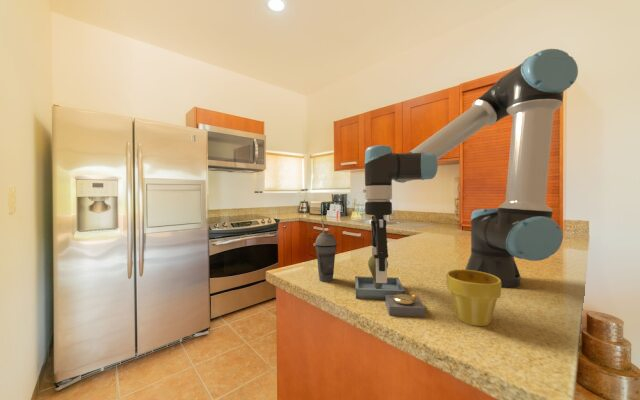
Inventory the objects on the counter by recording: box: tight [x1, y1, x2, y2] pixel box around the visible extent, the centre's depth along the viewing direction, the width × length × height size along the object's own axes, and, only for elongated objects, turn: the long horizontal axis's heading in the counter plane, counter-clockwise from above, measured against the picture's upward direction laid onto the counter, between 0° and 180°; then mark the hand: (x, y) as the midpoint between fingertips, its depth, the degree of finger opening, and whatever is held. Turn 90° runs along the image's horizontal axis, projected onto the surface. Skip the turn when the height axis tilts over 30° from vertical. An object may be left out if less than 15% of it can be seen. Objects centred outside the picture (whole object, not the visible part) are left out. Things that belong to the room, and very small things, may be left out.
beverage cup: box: [314, 218, 338, 283], centre depth 84 cm, size 7×7×20 cm
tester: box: [384, 294, 426, 318], centre depth 62 cm, size 8×7×3 cm
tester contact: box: [393, 293, 415, 305], centre depth 62 cm, size 5×5×1 cm
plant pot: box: [446, 269, 502, 327], centre depth 57 cm, size 10×10×10 cm
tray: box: [354, 275, 407, 301], centre depth 74 cm, size 13×11×2 cm
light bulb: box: [367, 254, 389, 289], centre depth 74 cm, size 6×6×10 cm
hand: (378, 274), depth 74 cm, fingers open, 13 cm apart
